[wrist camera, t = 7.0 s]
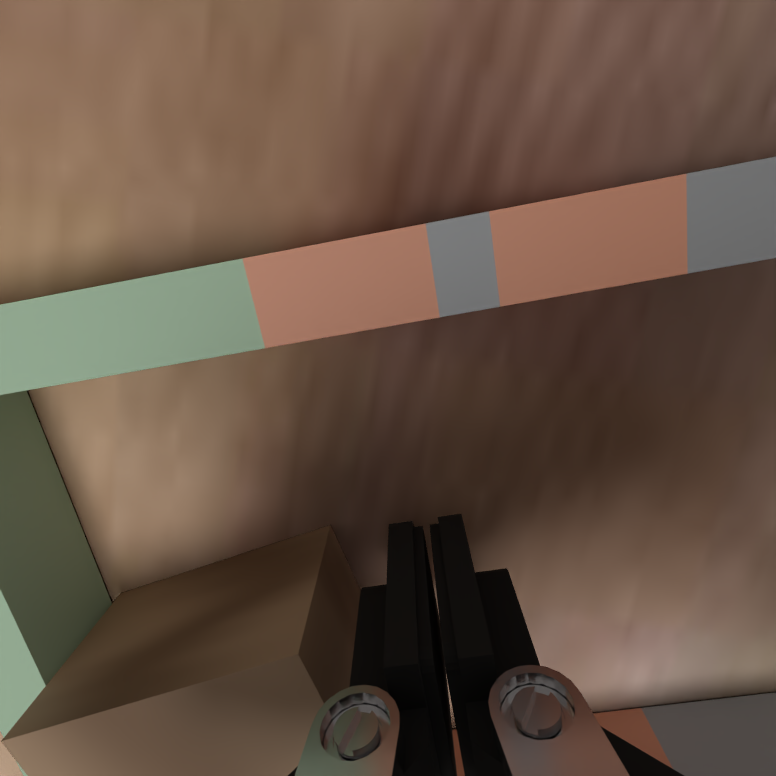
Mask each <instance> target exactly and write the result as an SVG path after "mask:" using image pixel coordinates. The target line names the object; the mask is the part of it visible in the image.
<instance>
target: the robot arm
mask: <svg viewBox="0 0 776 776" xmlns="http://www.w3.org/2000/svg"><path fill="white" fill-rule="evenodd" d="M438 522H439V524H432V525H430V533H431V543H432V552H433V562H434V571H435V580H436V590H437V599H438V608H439V614H438V609H437V603H436V597H435V592H434V586H433V581H432V575H431V569H430V564H429V558H428V553H427V547H426V541H425V536H424V530H423V526H418V527H414V524H413V521H408V522H401V523H394V524H389V536H388V560H387V585H380V586H372V587H365V588H362V589H361V592H360V599H359V608H358V616H357V625H356V634H355V642H354V651H353V660H352V668H351V677H350V685H349V688H346V689H344V690H342V691H339V692H338V693H336V694H335V695H334V696H332V697H331V698H329V699H328V700H327V701H326V702H325V703H324V705H323V706H322V707H321V708H320V709H319V710H318V712H317V714H316V716H315V718H314V721H313V723H312V725H311V728H310V731H309V734H308V737H307V740H306V743H305V746H304V749H303V752H302V755H301V758H300V761H299V764H298V766H297V767H296V768H295V769H294V770H293V771H292V772H291V773H290V774H289V775H288V776H457V770H456V761H455V752H454V742H453V733H452V724H451V715H450V705H449V696H448V687H447V679H448V685H449V690H450V696H451V702H452V707H453V713H454V718H455V724H456V729H457V735H458V740H459V746H460V751H461V757H462V763H463V768H464V774H465V776H684V775H682V774H681V773H679V772H677V771H676V770H674V769H672V768H671V767H669V766H667V765H666V764H664V763H662V762H660V761H659V760H657V759H655V758H654V757H652V756H650V755H649V754H647V753H645V752H644V751H642V750H640V749H638V748H637V747H635V746H633V745H632V744H630V743H628V742H627V741H625V740H623V739H622V738H620V737H618V736H616V735H615V734H613V733H611V732H610V731H608V730H606V729H605V728H603V727H601V726H600V725H599V723H598V721H597V720H596V718H595V716H594V715H593V713H592V711H591V709H590V708H589V706H588V704H587V703H586V701H585V699H584V698H583V696H582V694H581V693H580V691H579V690H578V689H577V688H576V686H575V685H574V684H573V683H572V681H571V680H569V679H568V678H566V677H565V676H564V675H562V674H561V673H560V672H557V671H555V670H553V669H550V668H548V667H544V666H540V664H539V661H538V658H537V655H536V652H535V649H534V646H533V643H532V640H531V637H530V634H529V631H528V628H527V625H526V622H525V619H524V616H523V613H522V610H521V608H520V605H519V602H518V599H517V596H516V593H515V590H514V587H513V584H512V581H511V578H510V575H509V572H508V570H507V569H498V570H491V571H483V572H476V573H475V572H474V567H473V563H472V559H471V554H470V550H469V546H468V541H467V537H466V533H465V528H464V524H463V520H462V515H461V514H456V515H449V516H442V517H438ZM439 618H440V620H439ZM445 667H446V668H445ZM446 674H447V678H446Z"/></svg>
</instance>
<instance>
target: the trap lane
mask: <svg viewBox="0 0 776 776" xmlns="http://www.w3.org/2000/svg"><path fill="white" fill-rule="evenodd" d="M773 258H776V157H771V158H766V159H761V160H755V161H750V162H745V163H740V164H734V165H729V166H724V167H719V168H713V169H708V170H703V171H698V172H693V173H687V174H682V175H677V176H672V177H666V178H661V179H656V180H651V181H645V182H640V183H635V184H630V185H624V186H619V187H614V188H609V189H604V190H598V191H593V192H588V193H583V194H577V195H572V196H567V197H562V198H556V199H551V200H546V201H541V202H535V203H530V204H525V205H520V206H515V207H509V208H504V209H499V210H494V211H488V212H483V213H478V214H473V215H467V216H462V217H457V218H452V219H446V220H441V221H436V222H431V223H426V224H420V225H415V226H410V227H405V228H399V229H394V230H389V231H384V232H378V233H373V234H368V235H363V236H357V237H352V238H347V239H342V240H337V241H331V242H326V243H321V244H316V245H310V246H305V247H300V248H295V249H289V250H284V251H279V252H274V253H268V254H263V255H258V256H253V257H248V258H242V259H237V260H232V261H227V262H221V263H216V264H211V265H206V266H200V267H195V268H190V269H185V270H179V271H174V272H169V273H164V274H159V275H153V276H148V277H143V278H138V279H132V280H127V281H122V282H117V283H111V284H106V285H101V286H96V287H90V288H85V289H80V290H75V291H70V292H64V293H59V294H54V295H49V296H43V297H38V298H33V299H28V300H22V301H17V302H12V303H7V304H1V305H0V731H1V733H2V735H3V737H5V736H6V735H7V733H8V732H9V731H10V730H11V728H12V727H13V726H14V725H15V723H16V722H17V721H18V720H19V718H20V717H21V716H22V715H23V714H24V712H25V711H26V710H27V709H28V707H29V706H30V705H31V704H32V702H33V701H34V700H35V699H36V697H37V696H38V695H39V694H40V692H41V691H42V690H43V689H44V688H45V686H46V685H47V684H48V683H49V681H50V680H51V679H52V678H53V676H54V675H55V674H56V673H57V671H58V670H59V669H60V668H61V667H62V665H63V664H64V663H65V662H66V660H67V659H68V658H69V657H70V655H71V654H72V653H73V652H74V650H75V649H76V648H77V647H78V645H79V644H80V643H81V642H82V641H83V639H84V638H85V637H86V636H87V634H88V633H89V632H90V631H91V629H92V628H93V627H94V626H95V624H96V623H97V622H98V621H99V620H100V618H101V617H102V616H103V615H104V613H105V612H106V611H107V610H108V608H109V607H110V606H111V605H112V603H111V600H110V598H109V595H108V593H107V590H106V588H105V585H104V583H103V580H102V578H101V575H100V573H99V570H98V568H97V565H96V563H95V560H94V558H93V555H92V553H91V550H90V548H89V545H88V543H87V540H86V538H85V535H84V533H83V530H82V528H81V525H80V523H79V520H78V518H77V515H76V513H75V510H74V508H73V505H72V503H71V500H70V498H69V495H68V493H67V490H66V488H65V485H64V483H63V480H62V478H61V475H60V473H59V470H58V468H57V465H56V463H55V460H54V458H53V455H52V453H51V450H50V448H49V445H48V443H47V440H46V438H45V435H44V433H43V430H42V428H41V425H40V423H39V420H38V418H37V415H36V413H35V410H34V408H33V405H32V403H31V400H30V398H29V395H28V393H27V390H32V389H37V388H43V387H49V386H54V385H60V384H66V383H71V382H77V381H83V380H88V379H94V378H100V377H105V376H111V375H116V374H122V373H128V372H133V371H139V370H145V369H150V368H156V367H162V366H167V365H173V364H179V363H184V362H190V361H196V360H201V359H207V358H213V357H218V356H224V355H230V354H235V353H241V352H247V351H252V350H258V349H264V348H269V347H275V346H281V345H286V344H292V343H297V342H303V341H309V340H314V339H320V338H326V337H331V336H337V335H343V334H348V333H354V332H360V331H365V330H371V329H377V328H382V327H388V326H394V325H399V324H405V323H411V322H416V321H422V320H428V319H433V318H439V317H445V316H450V315H456V314H462V313H467V312H473V311H479V310H484V309H490V308H495V307H501V306H507V305H512V304H518V303H524V302H529V301H535V300H541V299H546V298H552V297H558V296H563V295H569V294H575V293H580V292H586V291H592V290H597V289H603V288H609V287H614V286H620V285H626V284H631V283H637V282H643V281H648V280H654V279H660V278H665V277H671V276H676V275H682V274H688V273H693V272H699V271H705V270H710V269H716V268H722V267H727V266H733V265H739V264H744V263H750V262H756V261H761V260H767V259H773ZM593 715H594V716H595V718H596V720H597V721H598V723H599V725H600V726H601V727H603V728H605V729H606V730H608V731H610V732H611V733H613V734H615V735H616V736H618V737H620V738H622V739H623V740H625V741H627V742H628V743H630V744H632V745H633V746H635V747H637V748H638V749H640V750H642V751H644V752H645V753H647V754H649V755H650V756H652V757H654V758H655V759H657V760H659V761H660V762H662V763H664V764H666V765H667V766H669V767H671V768H672V769H674V770H676V771H677V772H679V773H681V774H682V775H684V776H776V692H775V693H766V694H757V695H749V696H740V697H731V698H723V699H714V700H706V701H697V702H688V703H680V704H671V705H662V706H654V707H645V708H636V709H628V710H619V711H611V712H602V713H593ZM452 733H453V742H454V752H455V761H456V770H457V776H465V774H464V768H463V763H462V757H461V751H460V746H459V740H458V735H457V729H455V730H452ZM16 762H17V761H16ZM17 764H18V763H17ZM18 766H19V768H20V770H21V772H22V774H23V776H27V774H26V773H25V772H24V770H23V769H22V768H21V767H20V765H19V764H18Z"/></svg>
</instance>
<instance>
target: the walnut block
mask: <svg viewBox="0 0 776 776" xmlns="http://www.w3.org/2000/svg"><path fill="white" fill-rule="evenodd" d="M360 592H361V590H360V588H359V586H358V584H357V582H356V579H355V577H354V575H353V573H352V571H351V569H350V566H349V564H348V562H347V560H346V558H345V556H344V553H343V551H342V549H341V547H340V545H339V543H338V540H337V538H336V536H335V534H334V532H333V530H332V527H331V525H329V526H326V527H323V528H320V529H317V530H314V531H310V532H307V533H304V534H301V535H298V536H295V537H292V538H289V539H286V540H283V541H280V542H277V543H274V544H270V545H267V546H264V547H261V548H258V549H255V550H252V551H249V552H246V553H243V554H240V555H237V556H234V557H231V558H227V559H224V560H221V561H218V562H215V563H212V564H209V565H206V566H203V567H200V568H197V569H194V570H191V571H188V572H184V573H181V574H178V575H175V576H172V577H169V578H166V579H163V580H160V581H157V582H154V583H151V584H148V585H145V586H141V587H138V588H135V589H132V590H129V591H126V592H123V593H121V594H120V595H119V596H118V597H117V599H116V600H115V601H114V602H113V603H112V605H111V606H110V607H109V608H108V610H107V611H106V612H105V613H104V615H103V616H102V617H101V618H100V620H99V621H98V622H97V623H96V624H95V626H94V627H93V628H92V629H91V631H90V632H89V633H88V634H87V636H86V637H85V638H84V639H83V641H82V642H81V643H80V644H79V645H78V647H77V648H76V649H75V650H74V652H73V653H72V654H71V655H70V657H69V658H68V659H67V660H66V662H65V663H64V664H63V665H62V667H61V668H60V669H59V670H58V671H57V673H56V674H55V675H54V676H53V678H52V679H51V680H50V681H49V683H48V684H47V685H46V686H45V688H44V689H43V690H42V691H41V692H40V694H39V695H38V696H37V697H36V699H35V700H34V701H33V702H32V704H31V705H30V706H29V707H28V709H27V710H26V711H25V712H24V714H23V715H22V716H21V717H20V718H19V720H18V721H17V722H16V723H15V725H14V726H13V727H12V728H11V730H10V731H9V732H8V733H7V735H6V736H5V737H4V738H3V739H2V741H1V742H2V743H3V744H4V746H5V747H6V748H7V750H8V751H9V752H10V754H11V755H12V756H13V757H14V759H15V760H16V761H17V763H18V764H19V765H20V767H21V768H22V769H23V770H24V772H25V773H26V774H27V776H288V775H289V774H290V773H291V772H292V771H293V770H294V769H295V768H296V767H297V766H298V764H299V761H300V758H301V755H302V752H303V749H304V746H305V743H306V740H307V737H308V734H309V731H310V728H311V725H312V723H313V721H314V718H315V716H316V714H317V712H318V710H319V709H320V708H321V707H322V706H323V705H324V703H325V702H326V701H327V700H328V699H329V698H331V697H332V696H334V695H335V694H336V693H338V692H339V691H342V690H344V689H346V688H349V685H350V677H351V668H352V660H353V651H354V642H355V634H356V625H357V616H358V608H359V599H360Z"/></svg>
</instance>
